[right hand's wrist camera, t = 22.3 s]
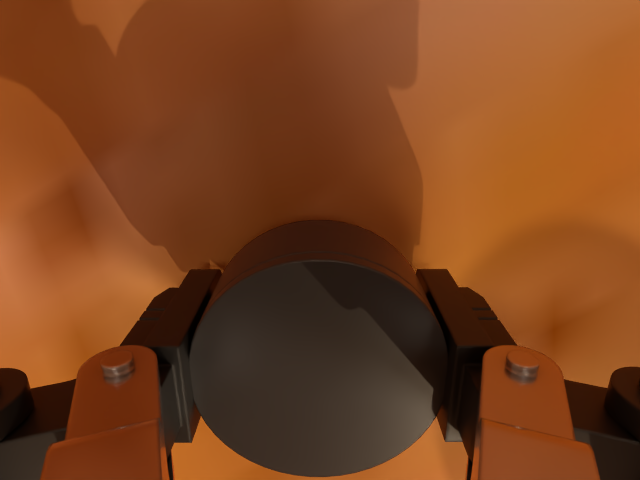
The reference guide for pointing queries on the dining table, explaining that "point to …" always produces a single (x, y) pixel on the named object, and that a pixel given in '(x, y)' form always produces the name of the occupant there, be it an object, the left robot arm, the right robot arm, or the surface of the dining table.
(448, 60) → the dining table surface
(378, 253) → the lid
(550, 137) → the dining table surface
